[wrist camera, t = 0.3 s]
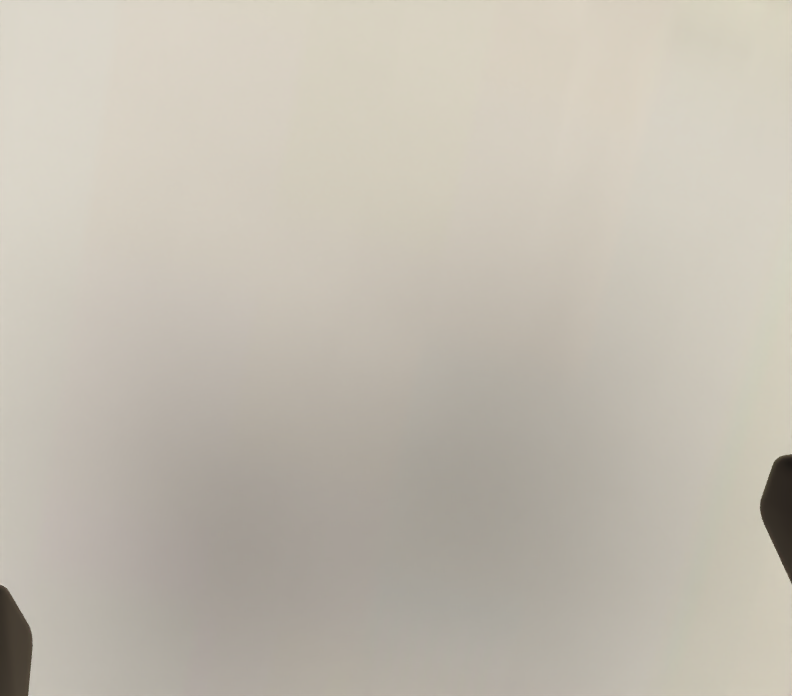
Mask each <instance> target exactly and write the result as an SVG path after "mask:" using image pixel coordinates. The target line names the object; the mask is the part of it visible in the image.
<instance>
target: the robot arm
mask: <svg viewBox="0 0 792 696" xmlns="http://www.w3.org/2000/svg"><path fill="white" fill-rule="evenodd" d="M760 511H761V516H762V520H763V522H764V525H765V527H766V529H767V531H768V533H769V536H770V538H771V540H772V542H773V544H774V546H775V549H776V551H777V553H778V555H779V557H780V559H781V561H782V564H783V566H784V568H785V570H786V572H787V574H788V577H789V579H790V581H791V583H792V454H790V455H784V456H781V457H779V458H778V459H776V460H775V462H774V463H773V466H772V469H771V472H770V474H769V477H768V480H767V483H766V486H765V489H764V492H763V495H762V498H761V502H760ZM32 646H33V644H32V634H31V630H30V627H29V625H28V623H27V621H26V620H25V618H24V616H23V614H22V613H21V611H20V609H19V608H18V606H17V604H16V602H15V601H14V599H13V597H12V596H11V594H10V592H9V591H8V590H7V588H5V587H4V586H2V585H0V696H28V691H29V680H30V670H31V659H32Z"/></svg>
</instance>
